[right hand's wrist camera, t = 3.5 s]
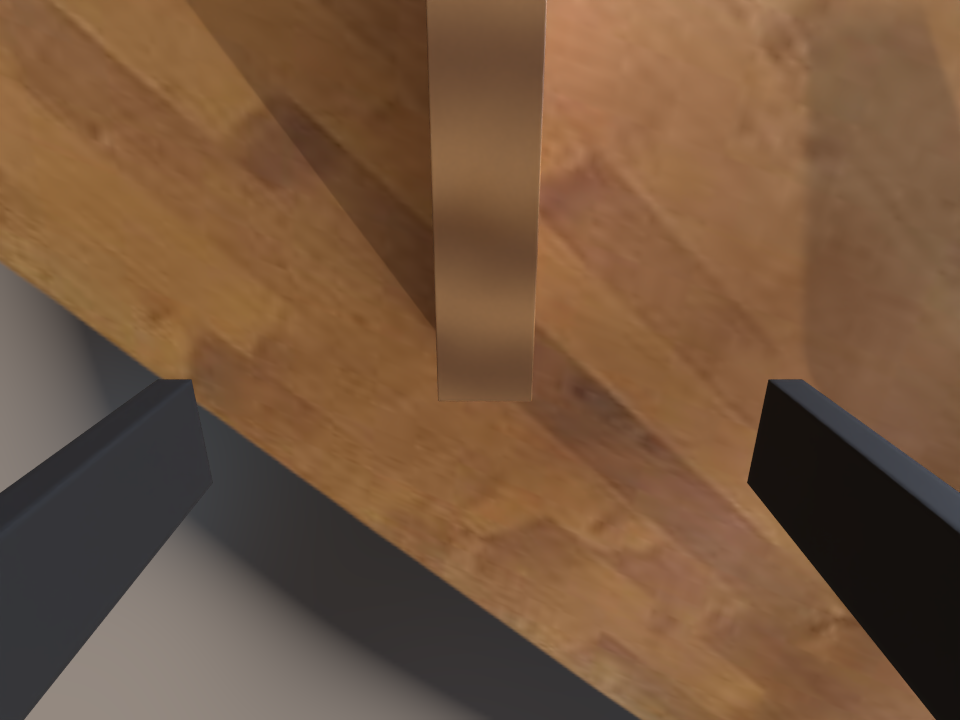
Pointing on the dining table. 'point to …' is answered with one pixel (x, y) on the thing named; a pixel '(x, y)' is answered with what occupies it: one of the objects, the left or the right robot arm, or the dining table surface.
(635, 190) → the dining table surface
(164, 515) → the right robot arm
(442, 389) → the post
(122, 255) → the dining table surface
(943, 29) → the dining table surface
